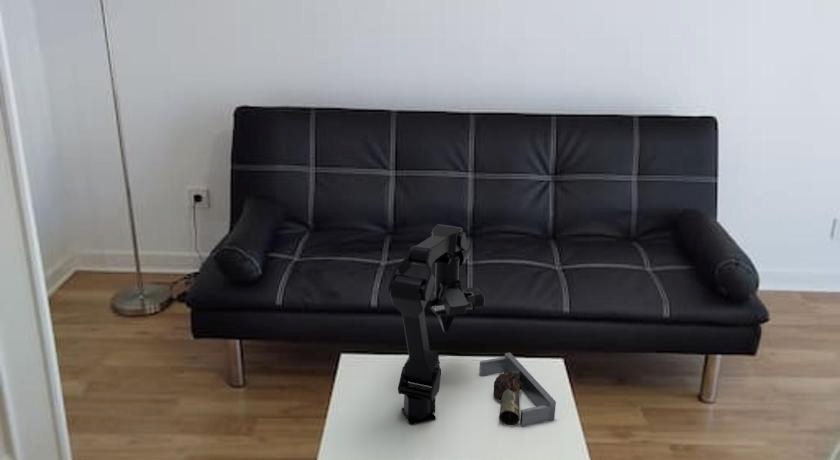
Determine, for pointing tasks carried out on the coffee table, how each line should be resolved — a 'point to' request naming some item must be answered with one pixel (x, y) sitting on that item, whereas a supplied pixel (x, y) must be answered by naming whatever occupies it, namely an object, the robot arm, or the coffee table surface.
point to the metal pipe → (508, 397)
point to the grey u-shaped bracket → (523, 389)
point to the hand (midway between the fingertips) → (445, 331)
